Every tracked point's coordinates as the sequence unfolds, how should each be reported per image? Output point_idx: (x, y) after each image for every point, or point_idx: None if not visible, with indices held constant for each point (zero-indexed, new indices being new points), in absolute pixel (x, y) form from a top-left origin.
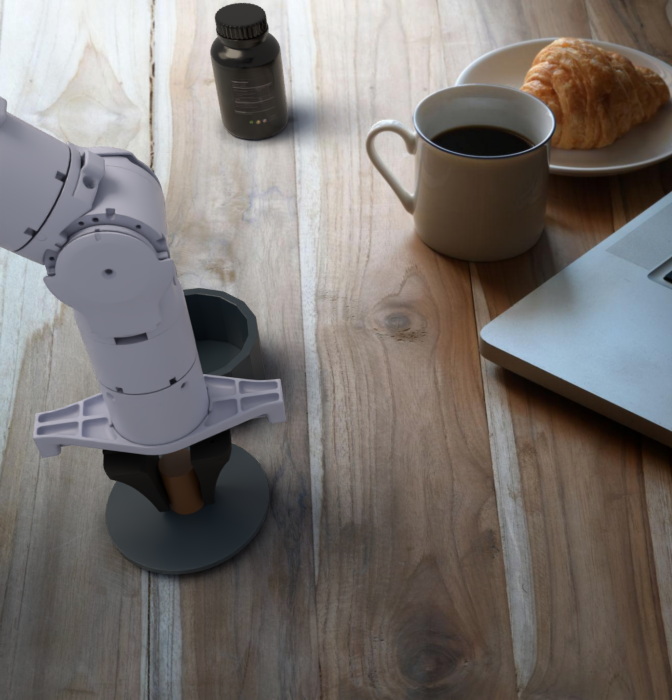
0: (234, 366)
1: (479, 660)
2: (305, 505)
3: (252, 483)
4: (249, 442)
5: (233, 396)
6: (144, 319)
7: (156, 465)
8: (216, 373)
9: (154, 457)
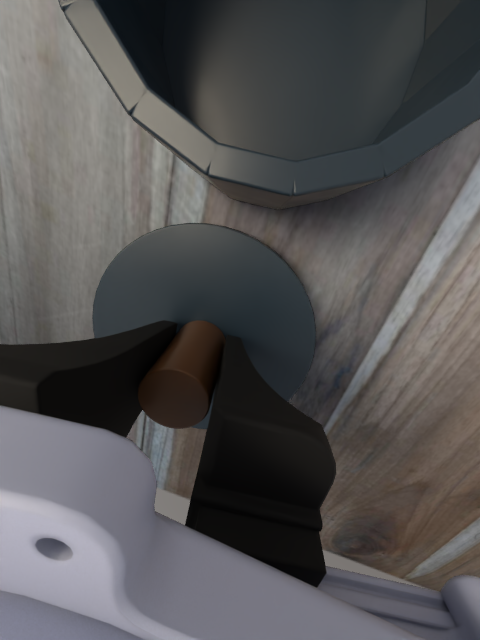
0: (408, 157)
1: (393, 557)
2: (340, 384)
3: (292, 354)
4: (318, 255)
5: None
6: None
7: (138, 377)
8: (341, 166)
9: (129, 383)
